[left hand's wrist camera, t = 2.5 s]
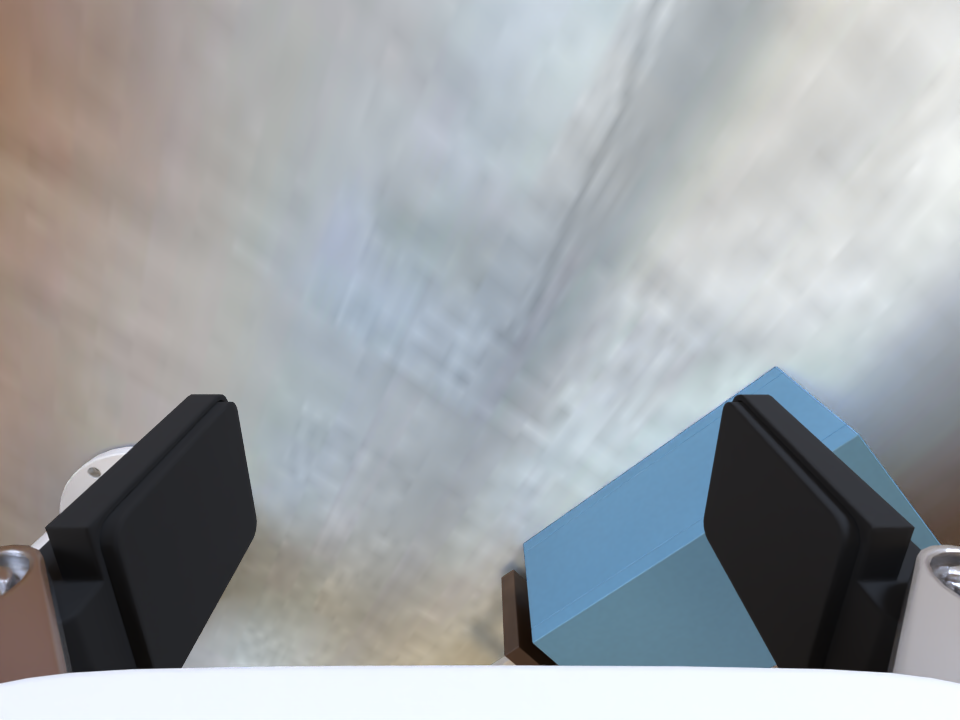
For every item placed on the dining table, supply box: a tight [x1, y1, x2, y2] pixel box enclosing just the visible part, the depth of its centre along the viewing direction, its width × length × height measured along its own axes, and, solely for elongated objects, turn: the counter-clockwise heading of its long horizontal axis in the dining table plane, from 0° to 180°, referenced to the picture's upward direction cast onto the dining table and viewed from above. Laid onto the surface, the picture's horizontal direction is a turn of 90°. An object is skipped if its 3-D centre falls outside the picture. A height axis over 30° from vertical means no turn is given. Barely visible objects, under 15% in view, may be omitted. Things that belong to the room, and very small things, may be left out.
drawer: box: [491, 570, 559, 666], centre depth 39 cm, size 26×10×7 cm, turn 132°
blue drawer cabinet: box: [523, 367, 941, 668], centre depth 37 cm, size 22×11×9 cm, turn 132°
